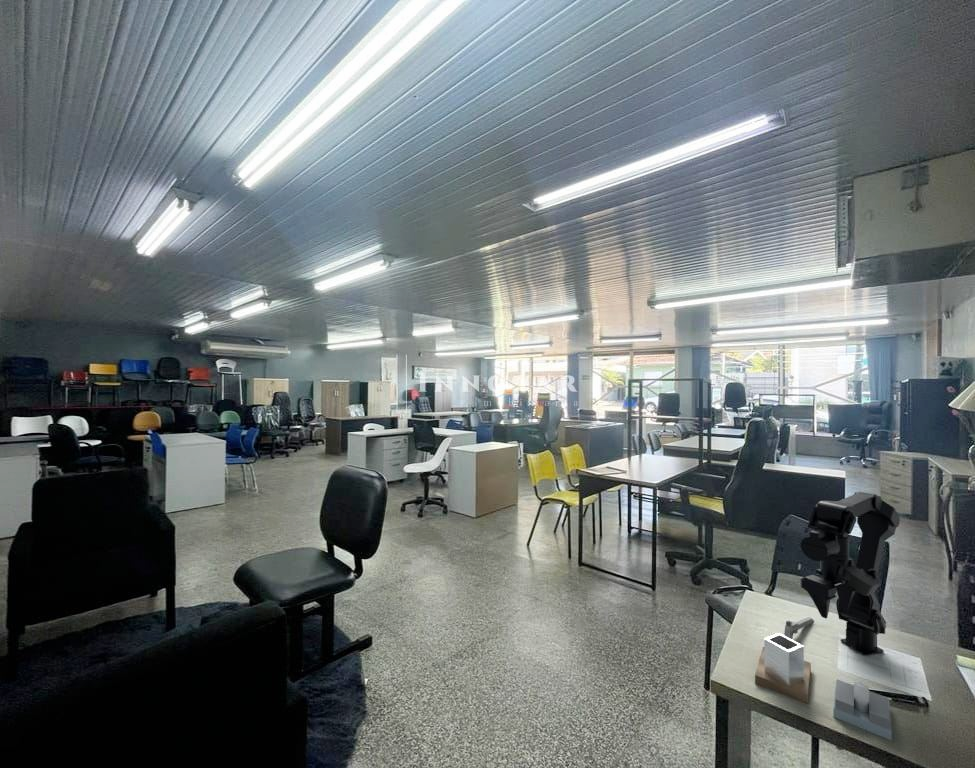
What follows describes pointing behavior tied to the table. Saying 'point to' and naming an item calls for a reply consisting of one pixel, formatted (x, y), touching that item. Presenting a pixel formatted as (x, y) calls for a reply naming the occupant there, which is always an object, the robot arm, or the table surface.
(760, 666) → the walnut board
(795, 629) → the caliper
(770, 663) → the steel sleeve
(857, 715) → the vise
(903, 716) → the table surface
